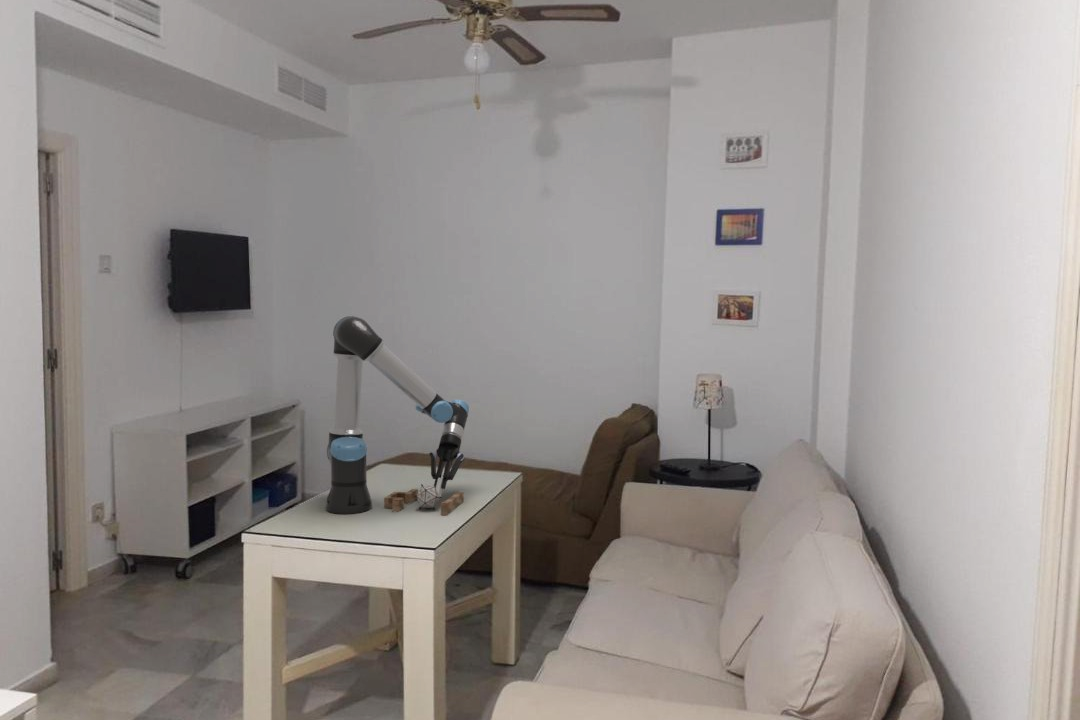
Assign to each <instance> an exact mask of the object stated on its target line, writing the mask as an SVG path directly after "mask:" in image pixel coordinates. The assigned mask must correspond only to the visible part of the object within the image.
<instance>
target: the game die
mask: <svg viewBox="0 0 1080 720" xmlns="http://www.w3.org/2000/svg"><path fill="white" fill-rule="evenodd" d="M420 484H421V485H420V486H421V487H420V489H419V490H418V494H417V495H415V496H414V497H416V498H417V500H416V501H417V502H418V504H419V506H420V507H419V508H418V510H421V509H422V508H428V509H429V508H430V509H431V508H432V510H433V511H435V506H436V504H437V503H438V501H439V500H440V499H442V498H443V497H442V496H441V497H439V495H438V492H437V490H436V488H435V487H436V485H435V486H434V485H432V486H430V485H429V486H427V485H423V484H422V483H420Z"/></svg>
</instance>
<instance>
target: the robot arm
mask: <svg viewBox="0 0 1080 720" xmlns="http://www.w3.org/2000/svg"><path fill="white" fill-rule="evenodd" d="M332 334H333V335H332V336H333V341H334V342H333V355H334V356H335V357H336V359H337V365H336V382H335V383H336V385H335V400H334V401H335V402H334V421H333V427H332V428H330V430H329V432H328V444H327V447H326V456H327V458H328V461H329V463H330V473H331V474H330V479H331V481H330V490H329V493H328V496H327V500H326V503H325V510H326V511H327V512H329V513H332V514H341V515H349V514H350V515H351V514H357V513H363V512H368V511H370V510H371V509H372V508H373V501H372V500H373V499H372V498H371V494H370V491H369V489H368V485H367V483H368V482H367V479H368V478H367V451H368V447H367V443H366V441H365V440H364V439H363V437H364V431H363V430H361V428H360V411H361V399H362V396H361V395H362V393H361V392H362V380H363V379H362V377H363V362H369V364H371V365H372V366H373V367H374V368H376V370H377V371H379V372H380V373H381V374H382V375H383V376H384V377H386V378H387V379H388V380H389V381H390V382H391V383H392V384H393V385H395V387H397V388H398V389H399V390H400V391H401V392H402V393H403V394H405V395H406V397H408V398H409V399H410V400H411V401H412V402H414V403H415V408H414V409H415V410H417V411H418V412H420V413H421V414H424V415H426V416H428V417H430V418H431V419H432V420H433V421H434V422H436V423H441V424H443V423H444V424H443V429H442V431H441V432H442V433H441V437H440V441H439V444H438V448H437V449H436V451H434V452H429V453H428V454H429V456H430V475H431V478H432V479H433V480H434V484H433V487H434V486H435V485H436V487H435V488H436V490H437V492H438V495H439V497H442V493H443V490H445V489H446V486H447V482H448V481H453V480H454V478H455V476H456V474H457V472H458V470H459V468H460V467H461V464H462V463H463V462H464V461H465V459H466V457H465V456H464V454H463V453H461V452H460V449H461V446H462V441H463V436H464V432H465V427H466V423H467V420H468V417H469V410H470V406H469V404H468V402H466V401H465V400H463V399H458V398H457V399H456V398H455V399H452V400H451V401H447V400H445V399H444V398H443V397H441V396H440V394H438V393H437V391H435V390H434V388H432V387H431V386H429V385H428V383H426V382H425V381H424V380H423V379H422V378H421V377H420V376H418V375H417V374H416V373H415V372H414V370H412V369H411V368H410V367H409V366H408V365H406V364H405V363H404V362H403V361H402V360H401V359H400V358H399V357H398V356H397V355H395V354H394V353H393V352H392V351H391V350H390V348H388V347H387V346H386V345H385V344H384V340H383V338H381V337H380V336H379V335H378V334H377V332H376V331H375V330H374V329H373V328H372V327H371V325H370V324H369V323H368V322H367V321H366V320H365V319H363V318H361V317H358V316H353V315H351V316H350V315H349V316H345V317H342V318H341V319H339V320H338V321H337V322H336V323H335V325H334V327H333V332H332ZM437 457H438V459H439V462H438V467H437V460H436V459H437ZM453 461H454V463H453Z"/></svg>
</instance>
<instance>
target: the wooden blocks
mask: <svg viewBox="0 0 1080 720" xmlns="http://www.w3.org/2000/svg"><path fill="white" fill-rule="evenodd" d="M418 492H419V489H418V488H411V489H410V490H408V491H406V492H405V491H394V492H392V493H390V494H389V495H386V496H384V498H383V499H384V500H383V503H384V504H383V508H384V509H391V508H392V512H393V511H396V512H395V513H399V512H401V511H402V510H404V508H405V506H404V505H405V504H408V503H411V502H412V503H414V502H415V501H417V500H416V499H417V498H416V497H414V496H415V495H417V494H418ZM413 501H414V502H413ZM462 502H463V503H464V491H457V492H455V493H454V494H453V495H452V496H450V497H449V498H448V499H446V500H444V501H441V502H440V515H441V516H448V515H449V514H450V513H451V512H453V511H454V510H455V509H456V508H457V506H458V505H459V506H460V505H462V504H463V503H462ZM404 503H405V504H404ZM412 503H411V504H412ZM459 506H458V507H459ZM401 509H402V510H401ZM452 510H453V511H452ZM398 511H399V512H398ZM448 513H449V514H448ZM447 514H448V515H447Z"/></svg>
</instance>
